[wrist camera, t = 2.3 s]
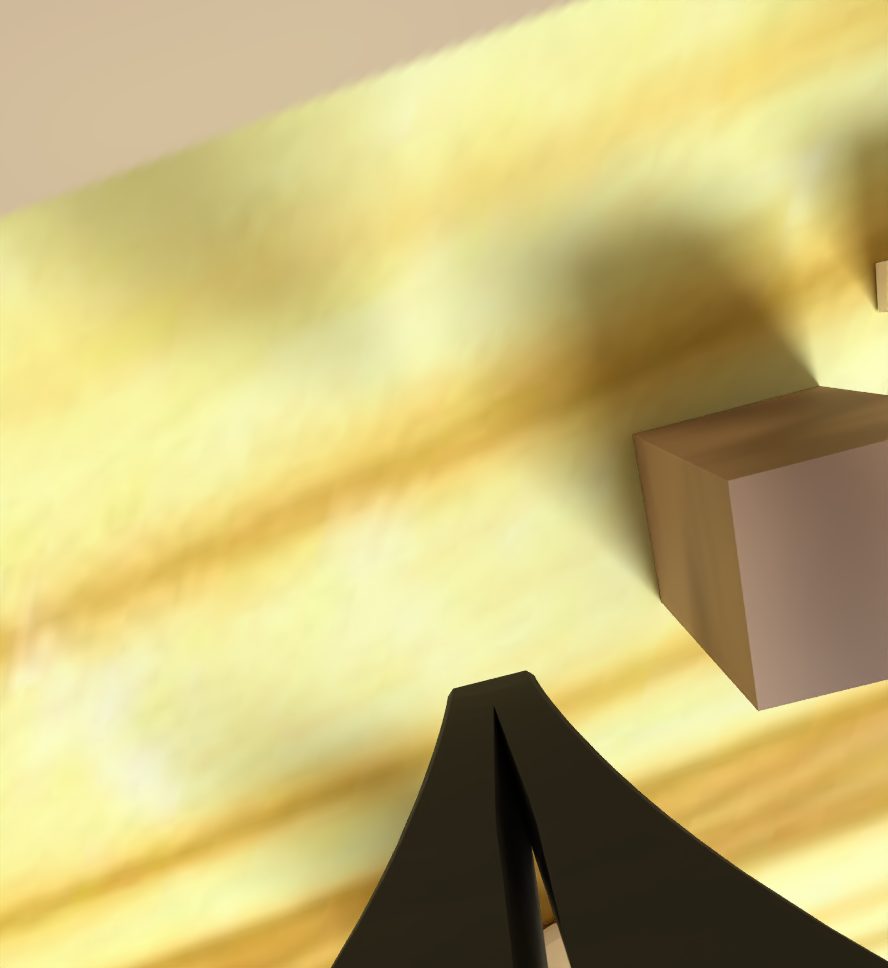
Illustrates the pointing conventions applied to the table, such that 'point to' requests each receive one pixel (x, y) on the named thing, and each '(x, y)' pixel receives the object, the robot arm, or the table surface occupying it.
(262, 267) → the table surface
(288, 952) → the table surface
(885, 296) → the dock
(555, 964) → the eye dropper bottle
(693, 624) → the walnut cube
